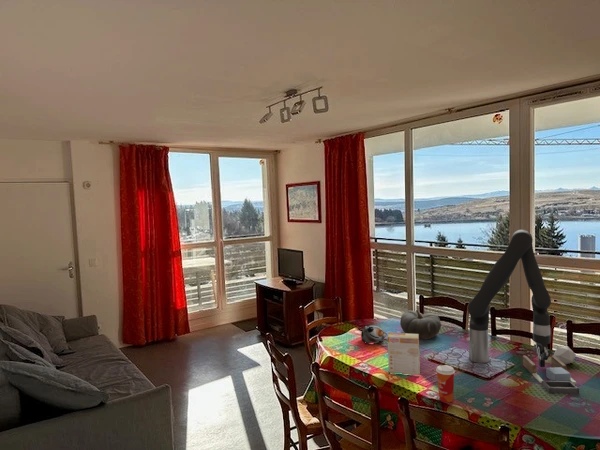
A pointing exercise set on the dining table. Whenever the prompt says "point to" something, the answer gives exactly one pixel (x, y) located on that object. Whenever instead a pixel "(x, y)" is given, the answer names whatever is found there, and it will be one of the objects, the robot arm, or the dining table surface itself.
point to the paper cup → (445, 382)
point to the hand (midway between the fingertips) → (542, 366)
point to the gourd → (420, 324)
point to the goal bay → (542, 380)
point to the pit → (560, 387)
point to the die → (564, 354)
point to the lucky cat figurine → (372, 334)
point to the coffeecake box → (403, 353)
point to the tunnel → (532, 367)
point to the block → (558, 374)
